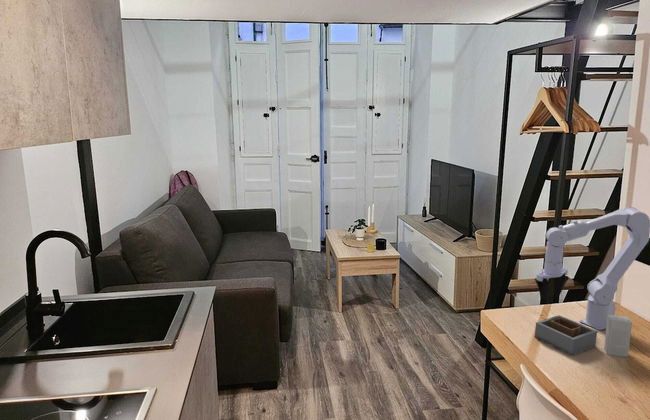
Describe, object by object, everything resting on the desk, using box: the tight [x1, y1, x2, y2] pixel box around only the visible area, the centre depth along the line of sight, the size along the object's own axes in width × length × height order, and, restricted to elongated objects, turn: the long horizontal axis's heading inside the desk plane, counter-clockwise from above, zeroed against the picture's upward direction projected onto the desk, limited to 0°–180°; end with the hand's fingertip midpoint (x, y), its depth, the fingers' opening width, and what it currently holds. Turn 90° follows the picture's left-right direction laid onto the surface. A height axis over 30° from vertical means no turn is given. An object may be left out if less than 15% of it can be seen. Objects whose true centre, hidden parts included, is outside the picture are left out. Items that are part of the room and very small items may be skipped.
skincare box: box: [603, 315, 633, 358], centre depth 150 cm, size 6×4×12 cm
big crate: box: [534, 314, 598, 356], centre depth 158 cm, size 12×14×6 cm
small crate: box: [550, 318, 582, 338], centre depth 158 cm, size 5×8×6 cm, turn 27°
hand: (550, 295), depth 173 cm, fingers open, 7 cm apart
